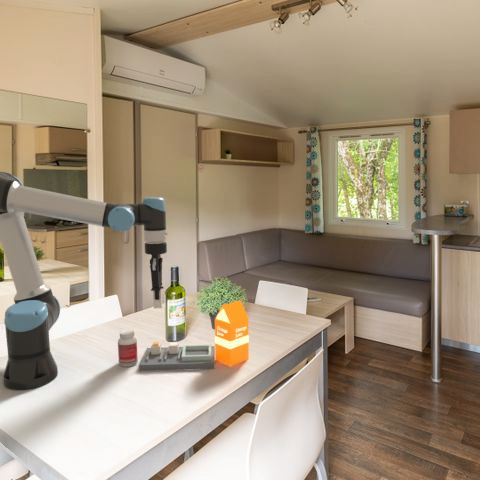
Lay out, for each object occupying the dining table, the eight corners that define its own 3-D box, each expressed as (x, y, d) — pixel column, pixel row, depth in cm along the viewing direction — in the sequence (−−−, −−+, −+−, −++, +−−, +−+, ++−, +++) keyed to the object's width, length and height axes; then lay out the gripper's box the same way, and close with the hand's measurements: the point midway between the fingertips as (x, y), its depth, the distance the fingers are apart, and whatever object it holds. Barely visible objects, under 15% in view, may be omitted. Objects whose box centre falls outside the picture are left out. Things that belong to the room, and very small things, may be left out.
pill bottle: (140, 364, 142) (139, 332, 140) (122, 369, 138) (120, 336, 137) (133, 358, 147) (132, 327, 145) (116, 362, 144) (114, 331, 142)
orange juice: (214, 359, 145) (214, 303, 142) (233, 352, 151) (233, 297, 149) (230, 366, 140) (230, 308, 137) (249, 358, 146) (249, 302, 143)
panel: (140, 370, 137) (139, 360, 136) (147, 353, 151) (146, 343, 150) (214, 368, 138) (214, 358, 138) (214, 351, 152) (214, 342, 152)
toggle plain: (169, 354, 145) (168, 345, 144) (169, 350, 148) (169, 342, 147) (177, 353, 145) (177, 345, 144) (178, 350, 148) (178, 342, 147)
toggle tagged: (151, 354, 144) (150, 345, 144) (152, 351, 147) (152, 341, 147) (160, 354, 144) (159, 344, 144) (161, 350, 147) (160, 341, 147)
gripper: (164, 244, 141) (166, 313, 145) (168, 239, 154) (170, 302, 157) (141, 245, 141) (144, 313, 144) (147, 239, 154) (150, 302, 157)
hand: (158, 307), depth 151 cm, fingers closed
